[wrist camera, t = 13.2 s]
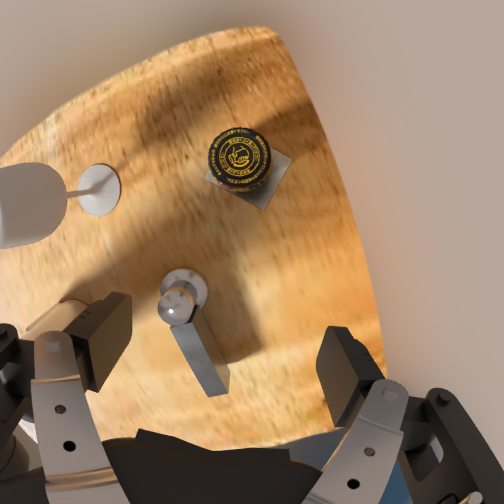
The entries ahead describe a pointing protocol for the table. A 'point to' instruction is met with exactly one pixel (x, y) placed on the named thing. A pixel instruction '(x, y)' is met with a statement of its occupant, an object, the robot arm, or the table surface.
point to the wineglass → (48, 200)
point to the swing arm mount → (187, 275)
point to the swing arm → (194, 337)
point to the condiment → (246, 165)
